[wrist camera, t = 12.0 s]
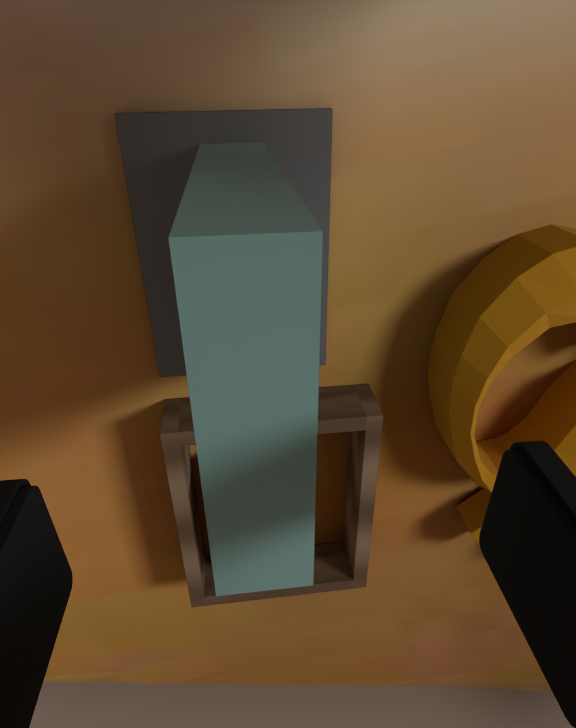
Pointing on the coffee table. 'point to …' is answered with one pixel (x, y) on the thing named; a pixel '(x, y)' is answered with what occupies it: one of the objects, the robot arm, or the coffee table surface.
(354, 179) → the coffee table surface
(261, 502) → the teal rectangular block
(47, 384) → the coffee table surface
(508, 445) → the decorative symbol
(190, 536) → the brown rectangular frame
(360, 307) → the coffee table surface
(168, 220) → the mat
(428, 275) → the coffee table surface
